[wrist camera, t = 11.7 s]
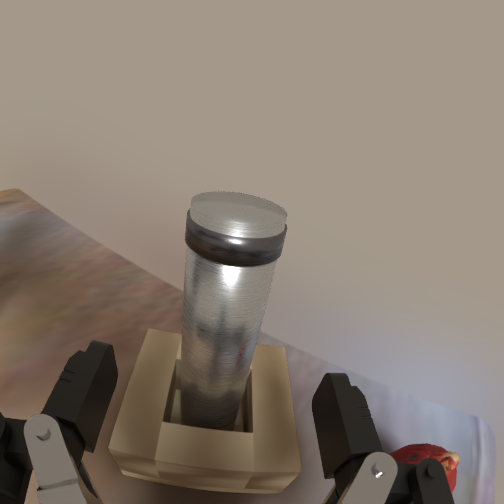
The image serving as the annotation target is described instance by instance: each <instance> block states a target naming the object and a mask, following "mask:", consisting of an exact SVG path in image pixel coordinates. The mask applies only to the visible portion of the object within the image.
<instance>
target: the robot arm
mask: <svg viewBox="0 0 504 504" xmlns="http://www.w3.org/2000/svg"><path fill="white" fill-rule="evenodd" d="M117 378H118V370H117V365H116V360H115V355H114V350H113V346H112V345H111V344H106V343H102V342H98V341H94V340H93V341H92V342H91V343H90V345H89V347H88V349H87V350H86V352H83V351H78V352H77V353H75V354H74V355H73V356H72V357H70V358H69V360H68V362H67V364H66V365H65V367H64V371H62V373H61V375H60V377H59V380H58V381H57V383H56V385H55V387H54V389H53V391H52V393H51V395H50V397H49V399H48V401H47V403H46V405H45V407H44V409H43V411H42V412H41V413H40V414H37V415H34V416H32V417H30V418H29V419H28V420H19V419H11V418H5V417H4V416H3V415H2V414H1V412H0V504H24V502H25V497H26V493H27V489H28V485H29V481H30V477H31V473H32V470H34V471H35V475H36V478H37V480H38V484H39V488H38V489H37V496H38V499H39V502H40V504H104V503H103V502H102V500H101V498H100V497H99V495H98V493H97V491H96V489H95V487H94V485H93V483H92V481H91V478H90V476H89V474H88V472H87V470H86V468H85V465H84V463H83V461H82V456H83V453H84V450H85V451H88V452H91V453H93V452H94V449H95V446H96V443H97V439H98V436H99V433H100V430H101V427H102V424H103V421H104V418H105V415H106V412H107V409H108V406H109V403H110V401H111V398H112V395H113V392H114V389H115V387H116V383H117ZM312 412H313V417H314V423H315V428H316V433H317V439H318V444H319V450H320V455H321V461H322V466H323V472H324V478H325V479H330V478H335V485H334V486H333V488H332V489H331V491H330V492H329V494H328V496H327V497H326V499H325V500H324V502H323V503H322V504H454V500H453V497H452V493H451V490H450V486H449V483H448V480H447V476H446V473H445V470H444V467H443V465H442V464H441V463H440V462H439V461H438V460H436V459H434V458H426V459H423V460H422V461H421V462H419V463H418V464H409V463H400V462H396V461H395V460H394V459H393V458H392V457H391V456H390V455H388V454H386V453H384V452H383V450H382V447H381V444H380V441H379V438H378V435H377V432H376V429H375V426H374V423H373V420H372V418H371V414H370V411H369V409H368V405H367V402H366V399H365V396H364V395H363V393H362V392H361V391H360V390H359V389H358V387H357V386H351V385H350V382H349V379H348V376H347V374H345V373H326V374H325V375H324V377H323V379H322V381H321V383H320V385H319V387H318V389H317V390H316V392H315V394H314V396H313V400H312Z"/></svg>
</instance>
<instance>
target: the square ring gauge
mask: <svg viewBox="0 0 504 504" xmlns="http://www.w3.org/2000/svg"><path fill="white" fill-rule="evenodd" d="M181 338H182V334H179V333H173V332H168V331H162V330H157V329H151V328H149V329H148V331H147V334H146V336H145V339H144V342H143V344H142V347H141V350H140V353H139V355H138V358H137V361H136V363H135V366H134V369H133V372H132V375H131V378H130V380H129V383H128V386H127V389H126V392H125V395H124V398H123V401H122V404H121V407H120V410H119V413H118V417H117V420H116V423H115V426H114V429H113V433H112V436H111V439H110V443H109V446H108V449H109V450H110V452H111V454H112V456H113V458H114V460H115V461H116V463H117V465H118V467H119V468H120V470H121V472H122V474H123V475H127V476H131V477H135V478H139V479H143V480H148V481H152V482H157V483H162V484H168V485H173V486H179V487H186V488H193V489H200V490H209V491H220V492H234V493H263V494H271V493H281V492H282V491H283V490H284V489H285V488H286V487H287V486H288V485H289V484H290V483H291V482H292V481H293V480H294V479H295V478H296V477H297V476H298V475H299V474H300V472H301V463H300V455H299V447H298V439H297V432H296V424H295V417H294V409H293V402H292V395H291V387H290V380H289V373H288V366H287V359H286V352H285V347H279V346H269V345H259V344H256V347H255V351H254V355H253V359H252V362H251V366H250V370H249V374H248V378H247V381H246V385H245V389H244V393H243V396H242V400H241V404H240V407H239V411H238V415H237V418H236V422H235V425H234V429H233V431H223V430H214V429H206V428H198V427H191V426H185V425H181Z"/></svg>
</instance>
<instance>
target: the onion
mask: <svg viewBox="0 0 504 504" xmlns="http://www.w3.org/2000/svg"><path fill="white" fill-rule="evenodd" d="M389 455H390V456H391V457H392V458H393V459H394V460H395V461H396V462H400V463H409V464H418V463H419V462H421V461H422V460H423V459H426V458H434V459H436V460H438V461H439V462H440V463H441V464H442V465H443V467H444V470H445V473H446V476H447V480H448V483H449V486H450V490H451V493H452V492H453V490H454V488H455V486H456V474H457V469H456V467H457V466H458V464H459V461H460V458H459V456H458V453H456V452H455V453H452V452H448V451H446V450H445V449H444V448H442V447H439V446H436V445H431V444H428V443H426V444H412V445H408V446H405V447H403V448H401V449H399V450H397V451H395V452H393V453H391V454H389Z"/></svg>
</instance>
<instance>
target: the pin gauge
mask: <svg viewBox="0 0 504 504" xmlns="http://www.w3.org/2000/svg"><path fill="white" fill-rule="evenodd" d="M286 219H287V213H286V211H285V210H284V209H283V208H282V207H280V206H279V205H277V204H275V203H273V202H271V201H268V200H266V199H262V198H259V197H256V196H252V195H247V194H242V193H235V192H206V193H201V194H198V195H196V196H194V197H193V198H192V200H191V208H190V209H189V210H188V212H187V222H186V232H185V241H186V244H187V252H186V265H185V278H184V294H183V313H182V338H181V425H185V426H191V427H198V428H206V429H214V430H223V431H233V429H234V425H235V422H236V418H237V415H238V411H239V407H240V404H241V400H242V396H243V393H244V389H245V385H246V381H247V378H248V374H249V370H250V366H251V362H252V359H253V355H254V351H255V347H256V343H257V339H258V335H259V331H260V327H261V323H262V319H263V315H264V311H265V307H266V303H267V299H268V295H269V291H270V287H271V283H272V279H273V274H274V270H275V266H276V262H277V259H278V258H279V257H280V255H281V252H282V248H283V244H284V239H285V235H286V231H287V225H286V224H285V223H286Z"/></svg>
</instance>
